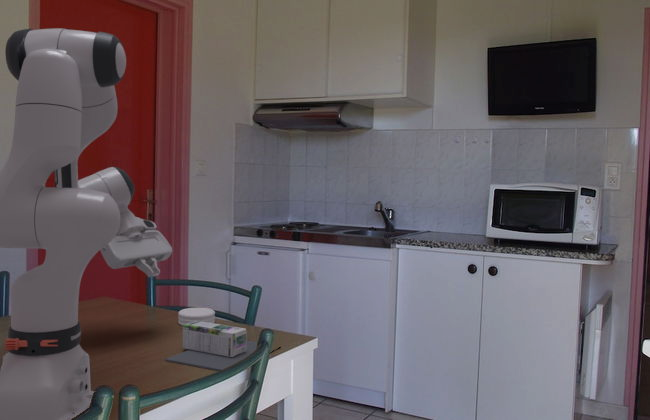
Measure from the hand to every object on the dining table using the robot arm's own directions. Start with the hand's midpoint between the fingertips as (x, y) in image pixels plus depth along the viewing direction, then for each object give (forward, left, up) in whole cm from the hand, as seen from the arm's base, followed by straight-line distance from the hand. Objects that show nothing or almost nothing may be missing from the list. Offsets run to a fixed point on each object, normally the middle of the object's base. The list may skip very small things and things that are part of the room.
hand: (155, 275), depth 157 cm
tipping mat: (-12, -17, -16) cm, 27 cm away
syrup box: (-6, -9, -13) cm, 17 cm away
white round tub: (+18, -10, -17) cm, 27 cm away
